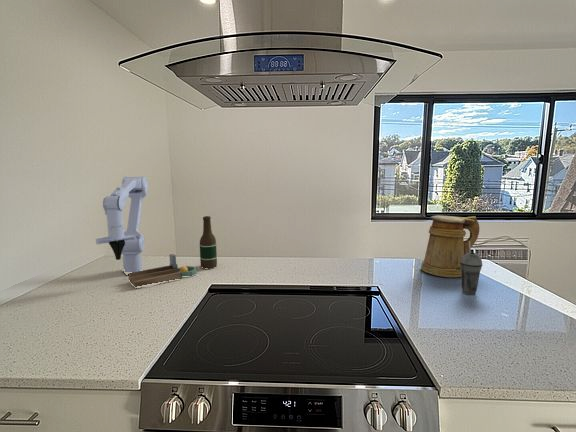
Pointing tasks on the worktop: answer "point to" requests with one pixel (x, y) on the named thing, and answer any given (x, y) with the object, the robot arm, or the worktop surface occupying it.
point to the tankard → (448, 244)
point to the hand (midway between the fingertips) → (118, 259)
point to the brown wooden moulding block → (154, 275)
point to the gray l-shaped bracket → (173, 261)
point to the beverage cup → (470, 272)
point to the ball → (183, 269)
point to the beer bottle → (208, 245)
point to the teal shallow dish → (190, 271)
